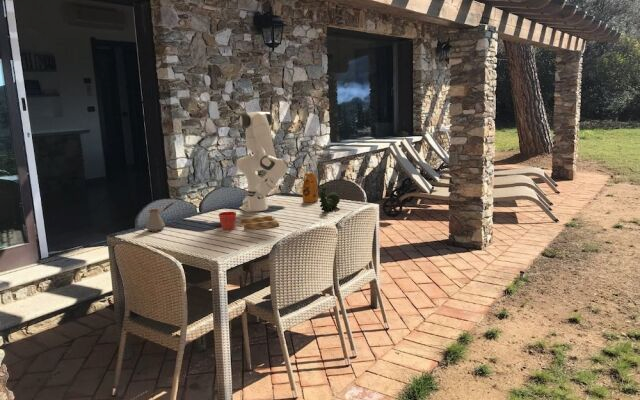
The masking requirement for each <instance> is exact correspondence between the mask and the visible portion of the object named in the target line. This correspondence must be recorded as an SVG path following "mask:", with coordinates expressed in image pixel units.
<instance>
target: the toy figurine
mask: <svg viewBox="0 0 640 400" xmlns="http://www.w3.org/2000/svg"><path fill="white" fill-rule="evenodd" d="M326 190H328V187H327V186H323V187H322V188H321V190H320V192H318V199H320V200H319V203H320V205H319V207H320V208H321V211H326V212H329V211H331V212H332V211H333V210H335V209H336V208H337V207H338V204H339V203H341V201H340V200H341V198H340V194H338V193H336V192H329V193H328V194H327V195H326Z"/></svg>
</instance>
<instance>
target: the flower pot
mask: <svg viewBox="0 0 640 400" xmlns="http://www.w3.org/2000/svg"><path fill="white" fill-rule="evenodd" d="M236 218H237V212H235V211H222V212H220V213H218V219H219V221H220V222H219V223H220V226H221V229H222V230H223V229H224V231H231V230H234V229H235V228H236V220H237V219H236Z"/></svg>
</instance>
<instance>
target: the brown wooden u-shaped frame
mask: <svg viewBox="0 0 640 400" xmlns="http://www.w3.org/2000/svg"><path fill="white" fill-rule="evenodd" d="M240 224H241V225H243V231H250V230H257V229H264V228H265V229H266V228H275V227H280V223H279V221H278V220H277V219H276V218H275V217H274V216H273V215H262V216H252V217H243V218H240ZM249 229H250V230H249Z"/></svg>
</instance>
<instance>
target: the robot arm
mask: <svg viewBox="0 0 640 400" xmlns="http://www.w3.org/2000/svg"><path fill="white" fill-rule="evenodd" d="M272 123H273V116H272V113H270V112H268V111H251V112H243V113H241V114H240V116H239V124H240V126H241V127H242V128H243V129H245V146H246V147H245V148H247V150H248V151H251V152H252V153H253V155H247V156H241V157H240V158H238V159H237V160H236V168H237V170H238V171H239V172H241V173H242V174H243V175H244V176H245V178H246V182H247V183H246V184H247V189H248V190H247V191H246V196H245V197H244V199H243V200H242V206H240V207H239V209H240V210H242V211H244V212H246V213H249V212H263V211H266V210H268V208H269V205H268V203H267V201H268V200H267V197H266V196H267V195H268V194H269V193H270V192H271V191H272V190H274V189H275V188H276V185H277V184H278V183H279V181H280V179H282V178H283V177H284V176H285V175H286V173H287V172H288V171H289V167H290V166H289V164H288V163H287V162H286V160H285V159H284V158H277V154H276V150H275V146H274V142H273V138H272V133H271V131H272V130H271V128H270V127H271V126H272V125H273V124H272ZM258 171H264V172H266V173H265V174H264V175H263V177H261V176H260V175H257V173H256V172H258Z"/></svg>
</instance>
